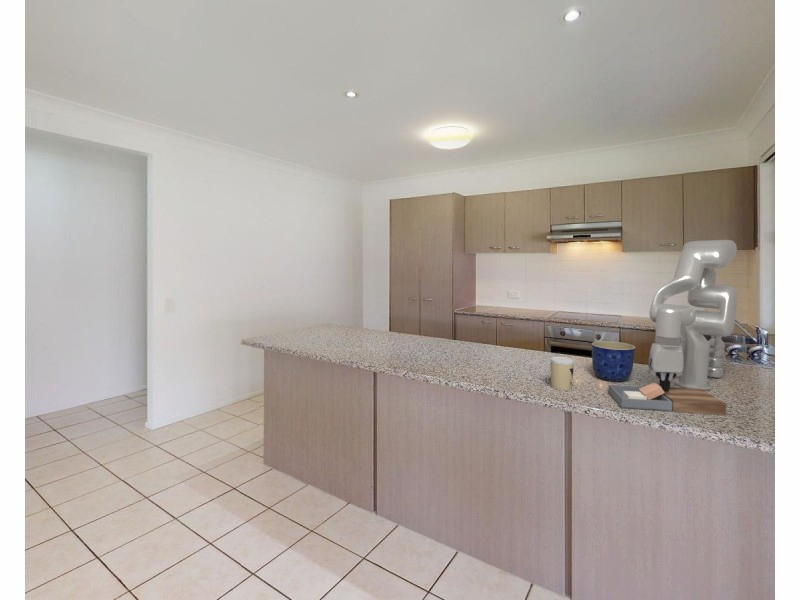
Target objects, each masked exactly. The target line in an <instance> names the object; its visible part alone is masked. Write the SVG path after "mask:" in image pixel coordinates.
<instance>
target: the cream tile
mask: <svg viewBox="0 0 800 600" xmlns="http://www.w3.org/2000/svg"><path fill="white" fill-rule="evenodd" d="M623 398H627V399H644V400H647V397H646V396H645V395H644V394H642V393H641V392H636V391H623Z"/></svg>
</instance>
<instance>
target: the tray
mask: <svg viewBox="0 0 800 600" xmlns="http://www.w3.org/2000/svg"><path fill="white" fill-rule="evenodd" d="M642 387H643V386H633V385H632V386H631V385H630V386H629V385H618V384H617V385H615V384H613V385H612V384H608V391H607V394H608V395H609V396H610V398H611V399H614V400H613V401H614V402H615V403H616V404H617V405H618V406H619V407H620V409H624V410H625V409H626V410H639V411H640V410H641V411H653V412H656V411H658V412H672V401H671V400H669V399H668V398H667V397H665V396H664V395H663V394H661V395H659V396H657V397H655V398H653V399H650V400H644V399H627V398H623V391H636V392H640V391H639V389H640V388H642Z"/></svg>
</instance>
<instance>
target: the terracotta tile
mask: <svg viewBox="0 0 800 600" xmlns="http://www.w3.org/2000/svg"><path fill="white" fill-rule="evenodd" d="M641 387H642V388H640V389H639V391H640V392H641V393H642V394H644V395H645V396H646V397H647V400H650V399H653V398H655V397H657V396H659V395H661V394H664V391H663V389H662V388H661V387H660V386H659V384H658V383H656V382H655V381H653V382H651V383H649V384H646V385H645V386H641Z"/></svg>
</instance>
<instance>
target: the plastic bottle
mask: <svg viewBox="0 0 800 600" xmlns="http://www.w3.org/2000/svg"><path fill="white" fill-rule="evenodd" d="M710 337H711V338H709V340H707V341H708V343H709V346H710V349H709V362H708V376H707V377H708V378H709V377H710V378H713V377H714V379H717V378H718V379H719V378H722V377H723V375H724V369H723V358H724V352H725V348H726V345H725V342H724V341H723V339H722V338H723V336H713V335H710Z"/></svg>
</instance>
